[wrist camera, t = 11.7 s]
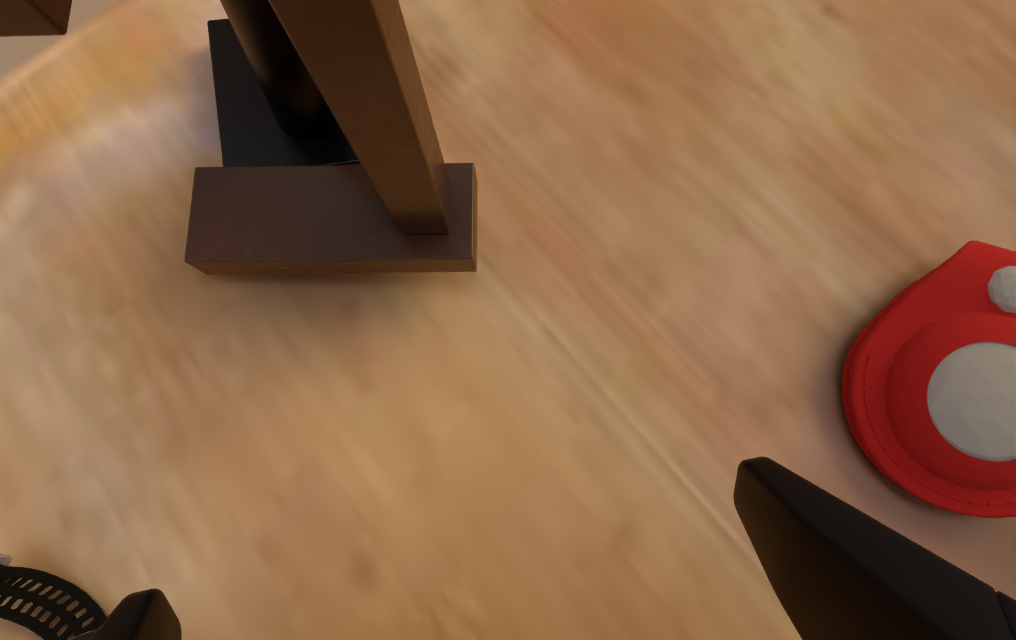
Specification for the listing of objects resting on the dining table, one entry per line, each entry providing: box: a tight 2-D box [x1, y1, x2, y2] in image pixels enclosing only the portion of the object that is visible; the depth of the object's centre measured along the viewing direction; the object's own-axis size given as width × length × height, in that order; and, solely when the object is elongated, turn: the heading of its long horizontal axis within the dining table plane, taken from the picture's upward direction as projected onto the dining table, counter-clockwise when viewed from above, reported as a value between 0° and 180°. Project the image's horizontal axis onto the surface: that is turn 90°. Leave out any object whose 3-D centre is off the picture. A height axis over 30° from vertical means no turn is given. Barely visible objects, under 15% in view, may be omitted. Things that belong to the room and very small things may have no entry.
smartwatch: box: [0, 554, 107, 640], centre depth 17 cm, size 4×5×5 cm
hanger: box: [0, 0, 477, 275], centre depth 14 cm, size 3×9×14 cm, turn 90°
